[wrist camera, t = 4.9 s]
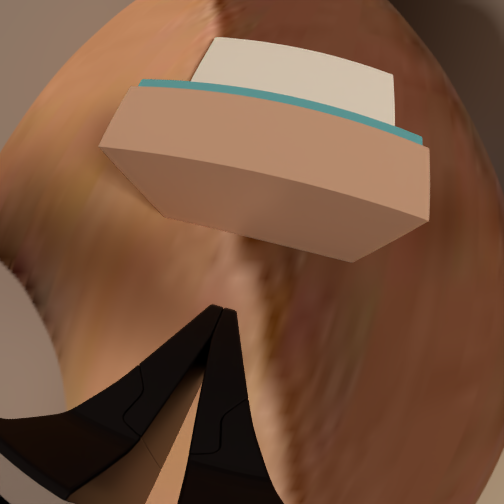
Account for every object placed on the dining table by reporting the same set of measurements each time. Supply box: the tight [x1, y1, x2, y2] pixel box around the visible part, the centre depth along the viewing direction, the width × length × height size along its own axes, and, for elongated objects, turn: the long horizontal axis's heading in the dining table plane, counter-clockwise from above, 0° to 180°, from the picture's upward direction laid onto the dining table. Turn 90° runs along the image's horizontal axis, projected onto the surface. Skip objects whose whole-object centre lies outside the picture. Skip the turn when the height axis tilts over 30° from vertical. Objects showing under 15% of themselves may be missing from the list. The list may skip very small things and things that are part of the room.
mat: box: [191, 37, 395, 126], centre depth 19 cm, size 13×16×1 cm
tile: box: [98, 79, 430, 263], centre depth 14 cm, size 4×12×9 cm, turn 76°
